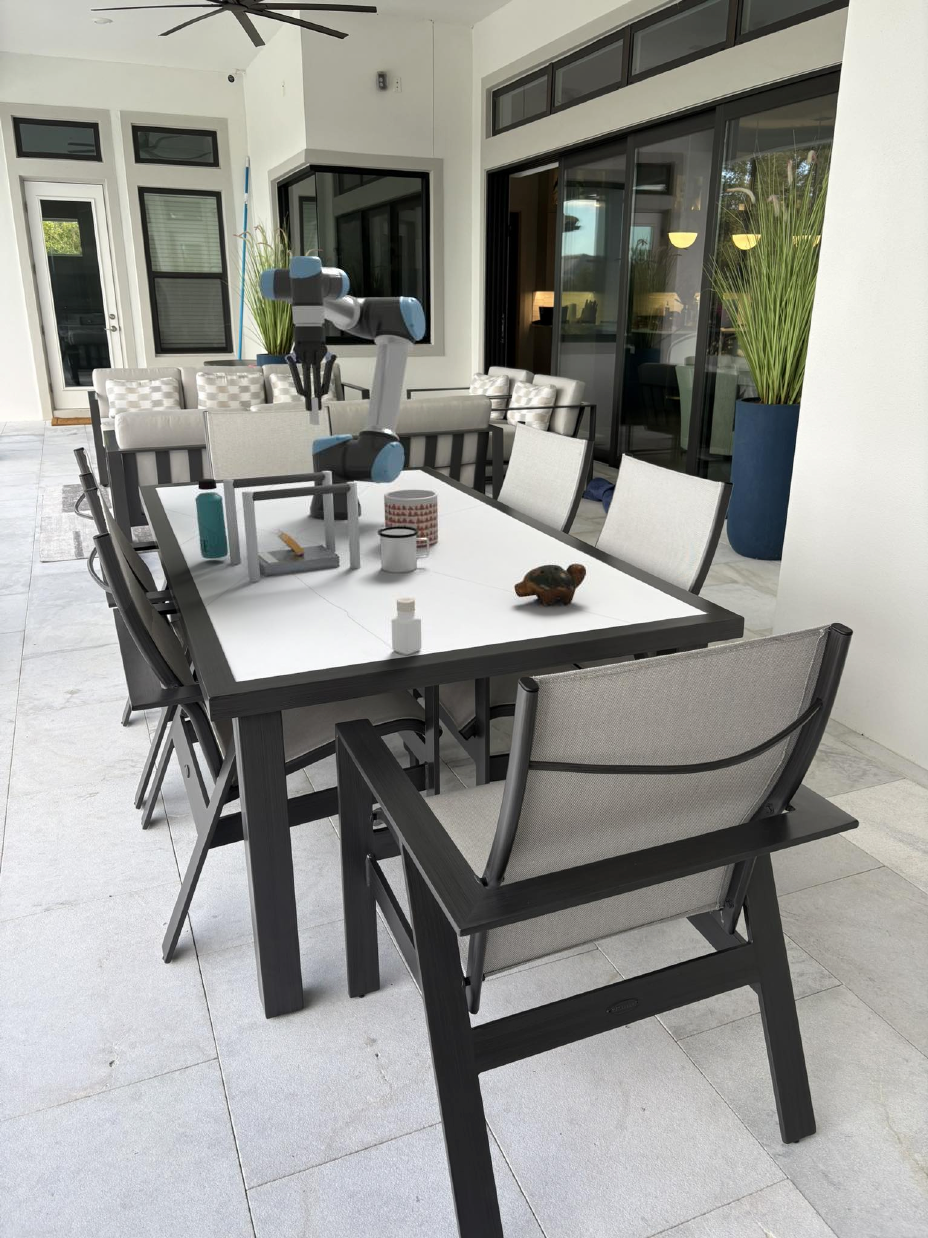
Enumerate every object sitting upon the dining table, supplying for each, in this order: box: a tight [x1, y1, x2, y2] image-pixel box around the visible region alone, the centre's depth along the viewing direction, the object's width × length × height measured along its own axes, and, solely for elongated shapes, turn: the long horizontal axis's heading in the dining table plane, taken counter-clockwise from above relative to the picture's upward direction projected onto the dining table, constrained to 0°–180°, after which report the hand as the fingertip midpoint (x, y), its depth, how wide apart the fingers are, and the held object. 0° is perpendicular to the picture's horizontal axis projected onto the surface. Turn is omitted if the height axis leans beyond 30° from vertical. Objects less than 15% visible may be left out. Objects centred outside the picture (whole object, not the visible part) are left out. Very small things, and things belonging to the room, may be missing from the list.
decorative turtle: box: [513, 563, 587, 607], centre depth 184 cm, size 10×15×8 cm, turn 107°
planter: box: [383, 488, 439, 549], centre depth 232 cm, size 14×14×13 cm
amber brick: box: [280, 533, 304, 555], centre depth 211 cm, size 2×3×6 cm
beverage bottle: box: [194, 478, 229, 560], centre depth 213 cm, size 6×7×20 cm
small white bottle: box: [391, 596, 422, 656], centre depth 157 cm, size 4×4×10 cm
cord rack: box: [222, 471, 361, 583], centre depth 209 cm, size 26×19×20 cm
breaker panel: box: [258, 544, 340, 577], centre depth 212 cm, size 18×12×3 cm, turn 118°
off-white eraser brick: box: [274, 528, 293, 550], centre depth 216 cm, size 2×3×6 cm
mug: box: [377, 526, 430, 574], centre depth 209 cm, size 12×10×9 cm
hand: (314, 424), depth 224 cm, fingers closed
